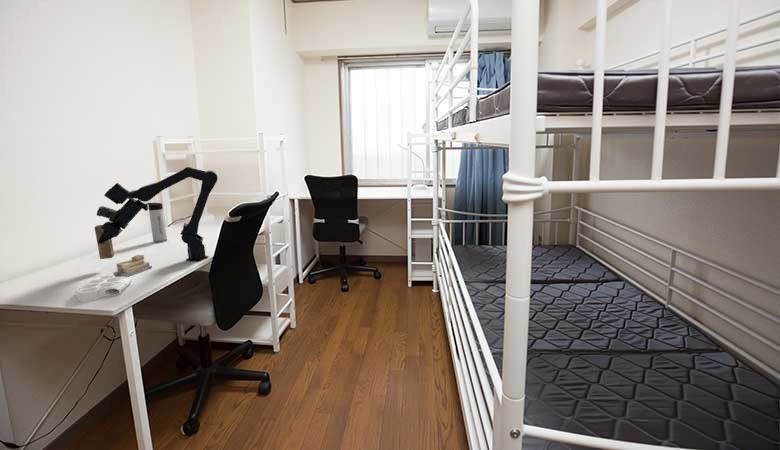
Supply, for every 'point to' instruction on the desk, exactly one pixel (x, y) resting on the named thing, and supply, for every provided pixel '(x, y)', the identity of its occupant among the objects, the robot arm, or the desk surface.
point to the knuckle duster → (102, 287)
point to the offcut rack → (132, 266)
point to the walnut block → (104, 244)
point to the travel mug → (157, 222)
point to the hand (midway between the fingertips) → (100, 241)
